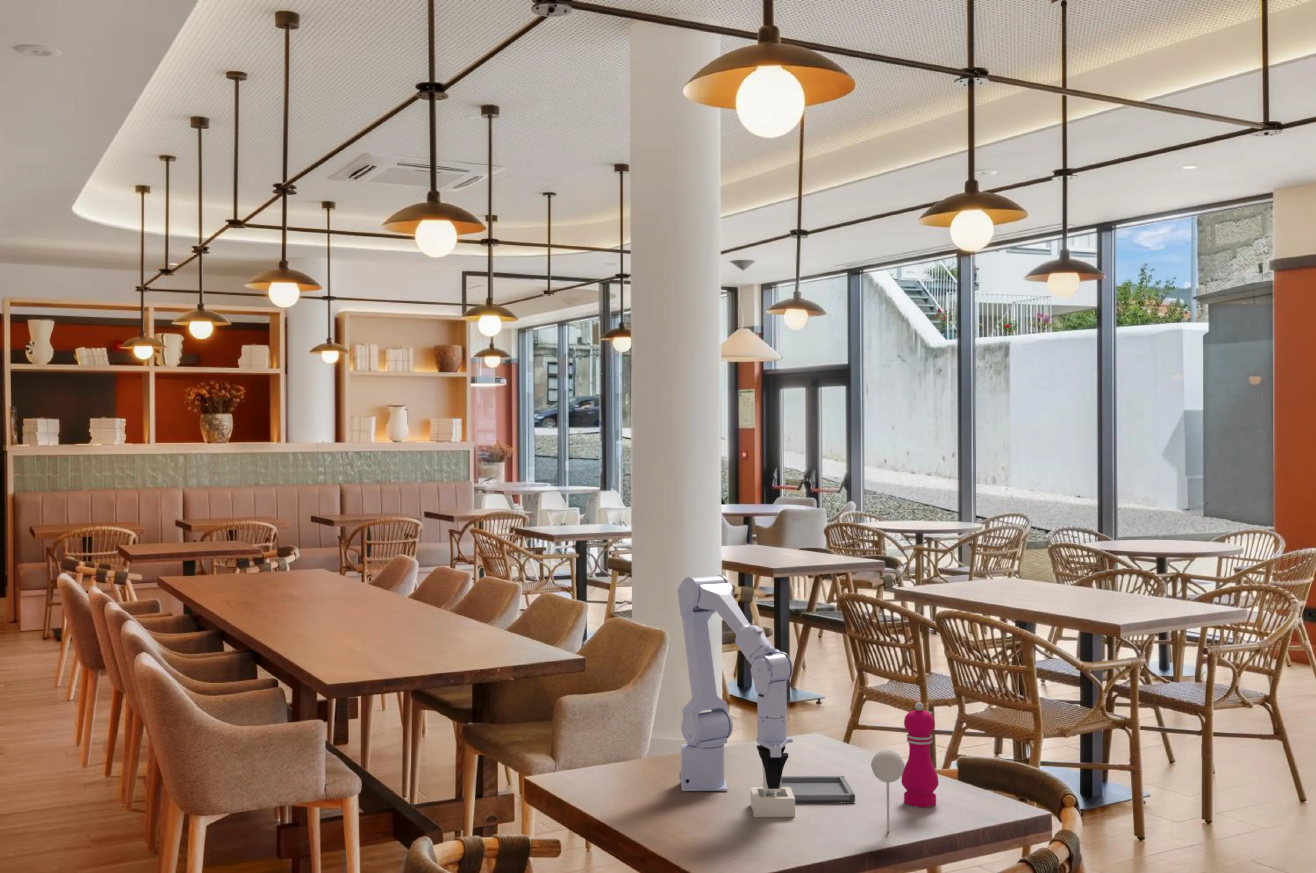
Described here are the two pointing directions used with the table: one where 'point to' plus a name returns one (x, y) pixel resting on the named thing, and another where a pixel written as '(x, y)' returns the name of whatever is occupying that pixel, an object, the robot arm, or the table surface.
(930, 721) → the pepper mill
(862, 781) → the table surface
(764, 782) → the steel pin
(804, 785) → the tray
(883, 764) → the lollipop
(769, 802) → the white hollow block
